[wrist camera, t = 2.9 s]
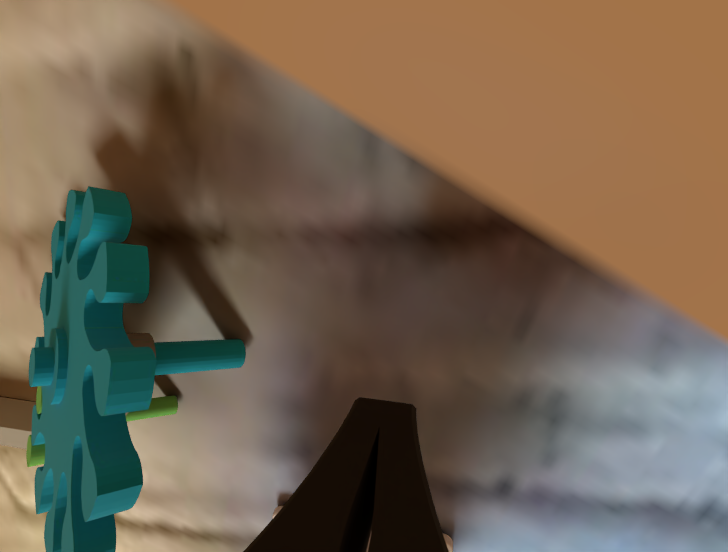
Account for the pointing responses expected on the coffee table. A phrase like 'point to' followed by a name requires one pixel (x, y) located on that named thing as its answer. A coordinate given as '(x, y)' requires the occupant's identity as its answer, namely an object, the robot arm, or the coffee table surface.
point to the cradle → (15, 422)
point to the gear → (98, 374)
